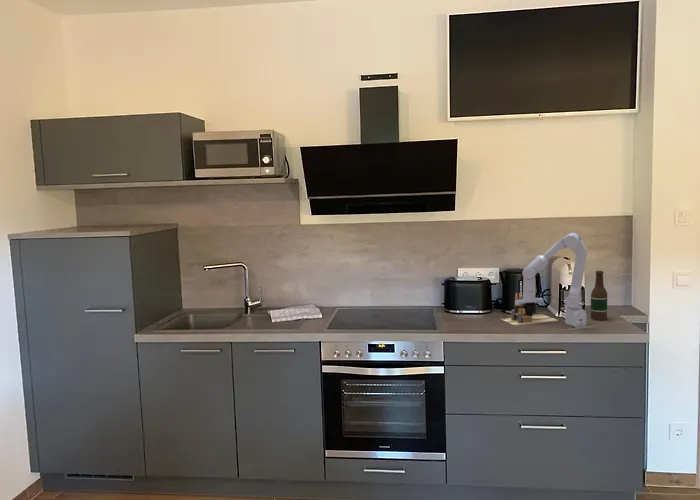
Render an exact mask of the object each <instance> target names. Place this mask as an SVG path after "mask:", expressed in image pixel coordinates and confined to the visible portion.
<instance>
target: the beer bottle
mask: <svg viewBox="0 0 700 500" xmlns="http://www.w3.org/2000/svg"><path fill="white" fill-rule="evenodd" d="M594 282H595V284H594V287H593V289H592V290H591V293H590V319H591V320H593V321H601V322H602V321H606V320H607V318H608V292H607V289H606V288H605V286H604V270H596V271H595V281H594Z"/></svg>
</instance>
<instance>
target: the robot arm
mask: <svg viewBox="0 0 700 500" xmlns="http://www.w3.org/2000/svg"><path fill="white" fill-rule="evenodd" d="M566 248H568V249H569V250H571V251H573V253H574V254H575V260H574V264H573V272H572V276H571V283H570V287H569V292H568V296H567V297H566V298H565V322H564V323H565V324H566V325H569V326H572V327H570V328H571V329H573V330H574V329H575V330H576V329H582V328H583V329H584V328H589V326H588V325H587V311H585V310H583V306H582V304H581V302H582V298H583V297H582V294H581V293H582V286H583V285H582V284H583V280H584V274H585V273H584V272H585V268H586V262H587V256H588V249H587V247H586V245H585V243H584V241H583V238H582V236H580V235H579V234H578V233H577V232H569V233H568V234H567V235H565V236H564V237H562V238H561V239H559V240H557V241H556V242H555V243H554V244H553V245H552V246H551V247H550V248H549V249H548V250H547V251H546V252H544V254H539V255H536V256H534V259H533V260H532V261H531V262H529V263H527V266H526V267H524V268H523V270H522V272H521V273H522V274H521V275H522V277H523V280H522V281H523V282H522V284H523V285H522V286H523V287H522V288H523V289H522V291H523V293H522V295H523V299H522V298H521V300H519V299H518V300H516V301H515V300H514V305H515V304H516V305H520V304H522V305H523V307H524V309H525V311H526V313H525V314H526V315H529V316H531V317H532V315H534V314H533V311H534V309H535V307H537V303H544V298H542V297H536V276H537V273H540V272H541V271H542V270H543V269H544V268H545V267H546V266H548V264H549V260H550V258H552V257H553V256H554V255H555V254H556V253H558V252H559V251H560V250H563V249H566ZM535 303H536V304H535Z"/></svg>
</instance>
